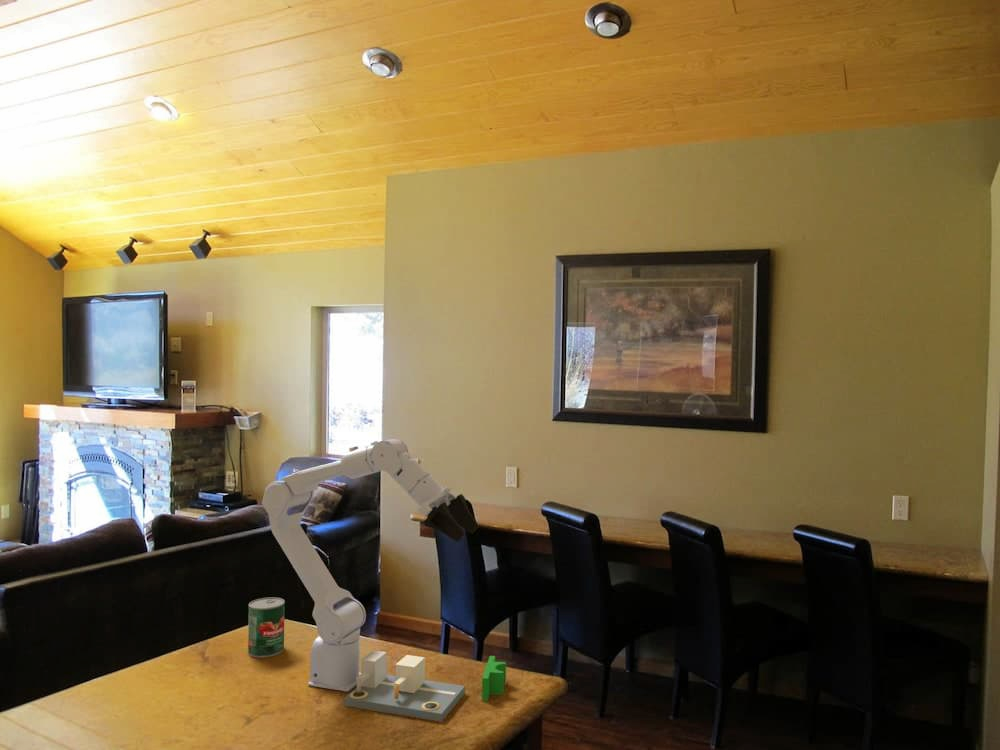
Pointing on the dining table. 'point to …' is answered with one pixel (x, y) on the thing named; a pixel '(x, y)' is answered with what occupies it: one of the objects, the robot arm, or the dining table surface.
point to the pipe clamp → (493, 678)
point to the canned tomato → (266, 627)
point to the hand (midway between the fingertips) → (468, 533)
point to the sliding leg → (409, 674)
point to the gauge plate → (400, 693)
